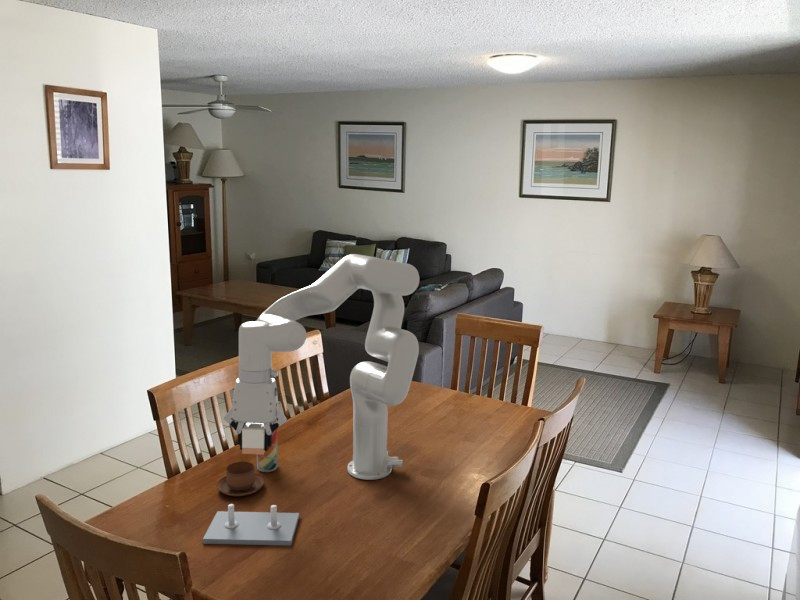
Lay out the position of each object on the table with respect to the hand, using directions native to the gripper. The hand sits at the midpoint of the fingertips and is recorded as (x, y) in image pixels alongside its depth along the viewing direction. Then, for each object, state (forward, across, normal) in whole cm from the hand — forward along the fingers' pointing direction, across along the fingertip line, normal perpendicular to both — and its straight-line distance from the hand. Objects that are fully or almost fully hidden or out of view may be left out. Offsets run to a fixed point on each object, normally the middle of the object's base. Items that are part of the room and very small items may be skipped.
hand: (255, 447), depth 157 cm
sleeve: (+1, 0, 0) cm, 1 cm away
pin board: (+19, -1, +5) cm, 19 cm away
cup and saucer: (+19, +7, -15) cm, 25 cm away
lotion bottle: (+18, +2, -27) cm, 33 cm away
